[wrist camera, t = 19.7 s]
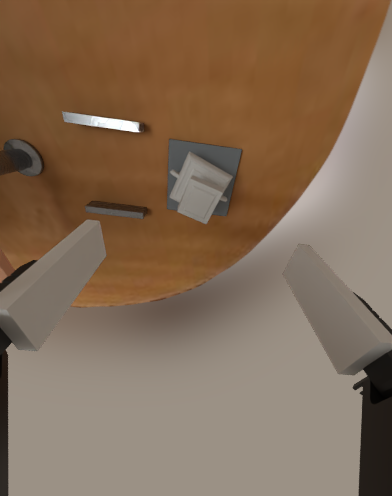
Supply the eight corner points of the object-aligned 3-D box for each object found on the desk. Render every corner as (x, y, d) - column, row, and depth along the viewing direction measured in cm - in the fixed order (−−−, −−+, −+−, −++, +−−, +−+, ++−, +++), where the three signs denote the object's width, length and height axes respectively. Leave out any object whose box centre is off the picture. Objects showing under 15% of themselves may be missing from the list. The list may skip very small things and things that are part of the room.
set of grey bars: (27, 198, 30) (-37, 224, 22) (-15, 99, 23) (-132, 85, 15) (146, 212, 31) (128, 243, 23) (143, 122, 24) (114, 121, 16)
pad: (167, 207, 30) (167, 209, 30) (169, 139, 25) (169, 139, 24) (225, 214, 31) (226, 216, 30) (241, 149, 25) (241, 149, 25)
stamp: (237, 175, 27) (250, 193, 20) (214, 213, 30) (219, 239, 23) (181, 144, 24) (174, 151, 17) (164, 188, 28) (152, 209, 21)
